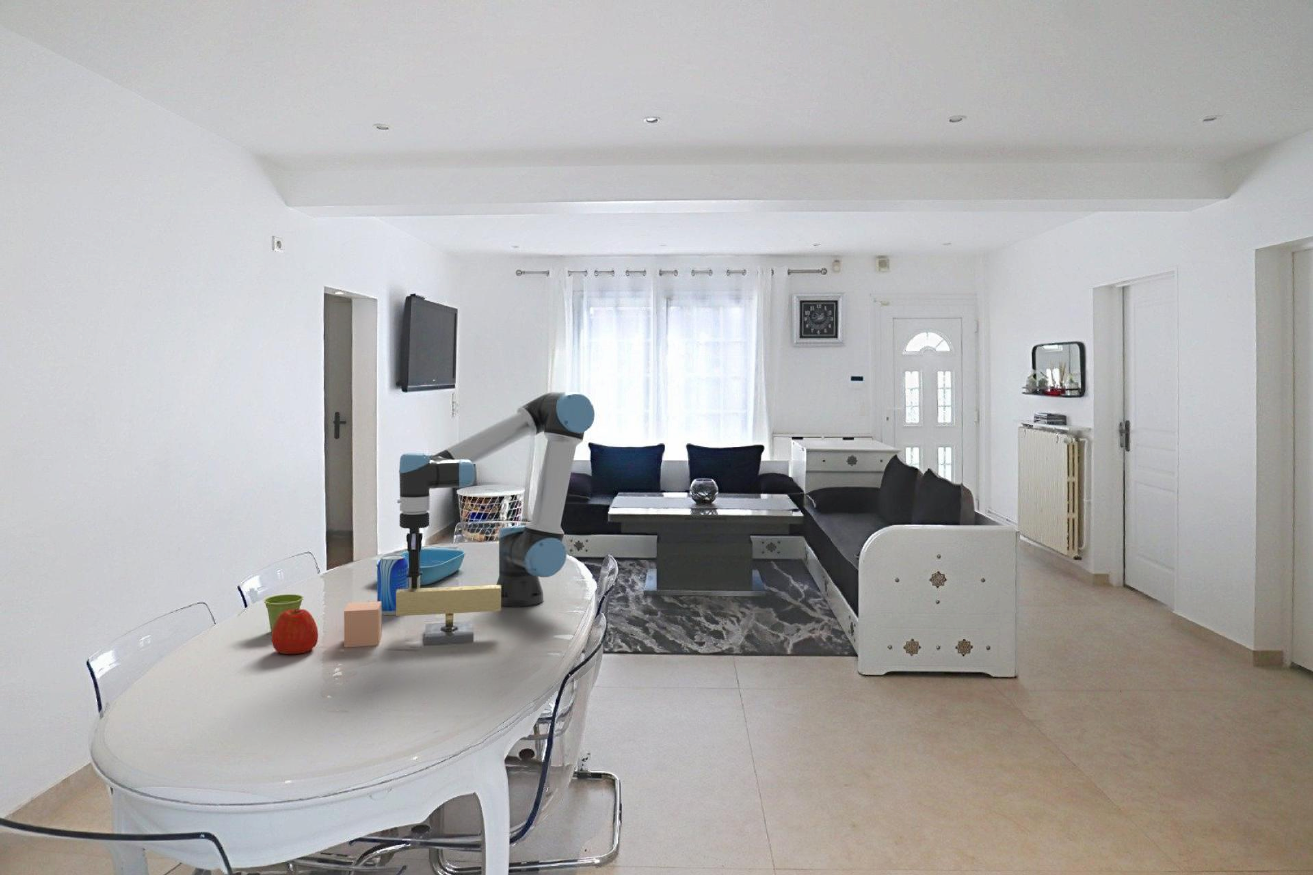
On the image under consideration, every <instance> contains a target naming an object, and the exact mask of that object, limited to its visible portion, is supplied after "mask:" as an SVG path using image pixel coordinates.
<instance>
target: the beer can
mask: <svg viewBox="0 0 1313 875" xmlns="http://www.w3.org/2000/svg"><path fill="white" fill-rule="evenodd" d="M378 562H379V563H378V565H377V566H376V574H377V575H376V579H377V580H376V586H377V587H376V589H377V590H376V591H377V592H376V595H377V596H376V597H377V598H376V599H377V600H376V602H379V601H382V615H383V616H396V591H397V589H409V585H408V577H407V578H406V575H408V563H407V561H406V560H405V556H404V555H397V554H386V555H382V556H380V560H379V561H378Z"/></svg>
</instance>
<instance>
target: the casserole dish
mask: <svg viewBox="0 0 1313 875" xmlns="http://www.w3.org/2000/svg"><path fill="white" fill-rule="evenodd" d="M396 555H404V556H405V560H406V561H407V563H408V575H409V552H408V551H407V550H406V551H404V552H400V553H398V554H396ZM465 555H466V550H463V549H462V550H461V549H455V548H443V547H442V548H441V547H437V548H436V547H435V548H421V551H420V572H423V574H422V575H420V586H426V585H431V584H433V583H436V582H438V581H440V580H442V579H444V578H447V577H449V576H450V575H452V574H455V573H456V572H457V571H459V569H460V568H461V566H462V565H463V564H462V563H463V560H464V558H465ZM378 563H379V561H377V562H376V563H375V566H376V567H377V565H378ZM408 586H409V577H408Z"/></svg>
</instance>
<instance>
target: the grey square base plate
mask: <svg viewBox="0 0 1313 875" xmlns="http://www.w3.org/2000/svg"><path fill="white" fill-rule="evenodd" d="M474 635H475V634H474V621H473V620H472V621H471V620H469V621H456V622H455V621H453V627H451V628H447V627H445V622H433V623H432V622H431V623H425V629H424V635H423V636H424V637H423V638H424V639H423V640H424V641H423V645H424V646H428V645H446V644H447V645H448V644H463V643H464V644H465V643H474V639H475V638H474V637H475V636H474Z"/></svg>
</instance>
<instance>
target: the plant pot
mask: <svg viewBox="0 0 1313 875" xmlns="http://www.w3.org/2000/svg"><path fill="white" fill-rule="evenodd" d="M303 600H304V596H302V595H301V594H293V593H291V594H289V593H287V594H277V595H272V596H269V597H266V598H264V600H263V603H264V604H265V607H266V609H267V614H268V619H269V628H270V633H271V634H272V630H273V627H274V625H275V623H276V621H277V619H278V618H279V616H280V615H281V614H282V613H283V612H285V611H288V610H292V609H301V606H302V601H303Z"/></svg>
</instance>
